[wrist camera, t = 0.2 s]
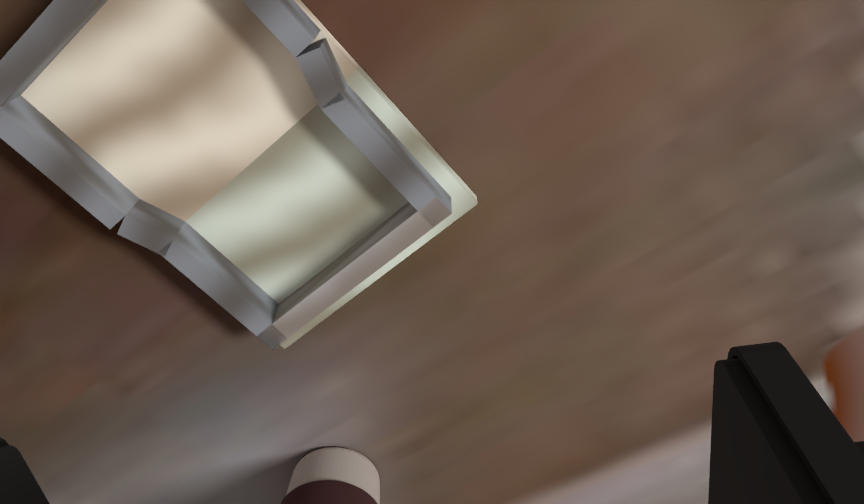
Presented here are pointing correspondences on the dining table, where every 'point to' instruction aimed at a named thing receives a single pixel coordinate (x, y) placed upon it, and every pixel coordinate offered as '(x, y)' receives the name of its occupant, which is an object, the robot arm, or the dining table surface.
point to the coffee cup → (334, 479)
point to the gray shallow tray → (229, 149)
